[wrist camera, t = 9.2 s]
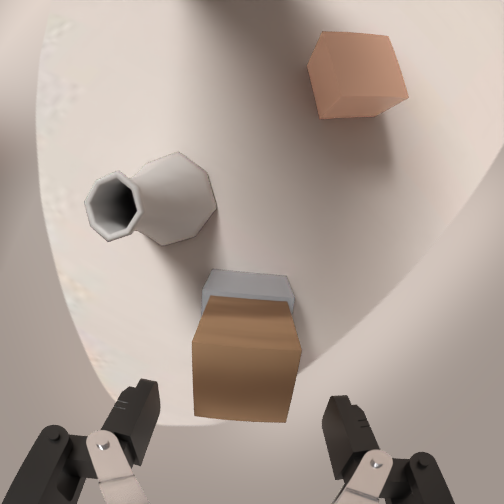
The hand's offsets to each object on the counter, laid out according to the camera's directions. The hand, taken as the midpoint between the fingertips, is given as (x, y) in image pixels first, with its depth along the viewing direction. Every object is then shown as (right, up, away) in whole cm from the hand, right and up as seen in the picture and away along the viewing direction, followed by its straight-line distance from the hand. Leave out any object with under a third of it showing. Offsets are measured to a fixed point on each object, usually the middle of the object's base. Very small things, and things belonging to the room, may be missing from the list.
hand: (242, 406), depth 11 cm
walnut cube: (0, +2, +7) cm, 7 cm away
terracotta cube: (+8, +20, +8) cm, 23 cm away
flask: (-6, +11, +10) cm, 16 cm away
